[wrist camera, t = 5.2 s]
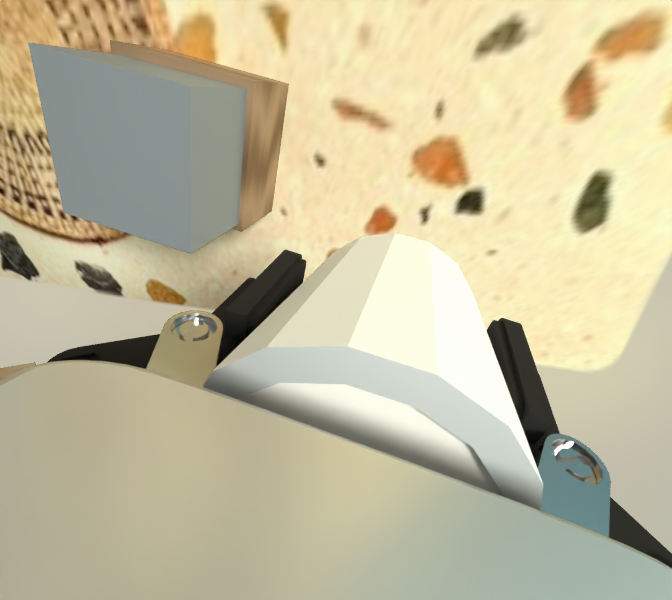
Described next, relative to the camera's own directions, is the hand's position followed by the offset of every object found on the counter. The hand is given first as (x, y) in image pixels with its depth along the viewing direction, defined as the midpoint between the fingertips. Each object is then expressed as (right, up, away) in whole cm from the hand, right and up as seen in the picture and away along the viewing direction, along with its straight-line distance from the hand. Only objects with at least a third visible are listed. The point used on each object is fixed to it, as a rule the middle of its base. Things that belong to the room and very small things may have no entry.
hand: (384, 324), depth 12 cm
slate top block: (-12, +12, +13) cm, 21 cm away
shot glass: (0, +1, +1) cm, 1 cm away
